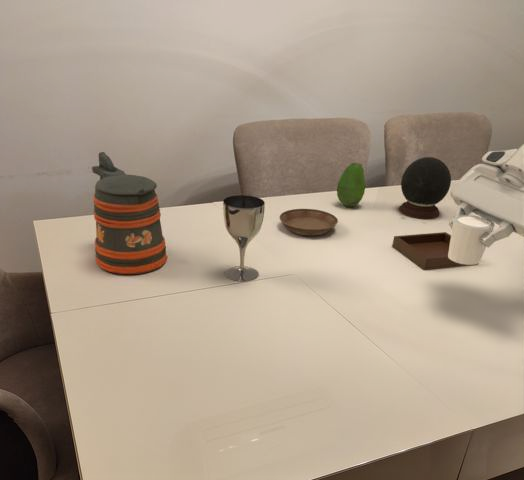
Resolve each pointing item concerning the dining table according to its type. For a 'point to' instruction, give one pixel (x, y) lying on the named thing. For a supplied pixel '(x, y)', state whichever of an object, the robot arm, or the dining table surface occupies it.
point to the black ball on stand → (424, 187)
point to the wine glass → (243, 229)
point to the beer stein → (126, 221)
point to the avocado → (351, 185)
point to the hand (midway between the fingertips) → (467, 235)
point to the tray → (426, 249)
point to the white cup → (468, 239)
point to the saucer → (308, 221)
